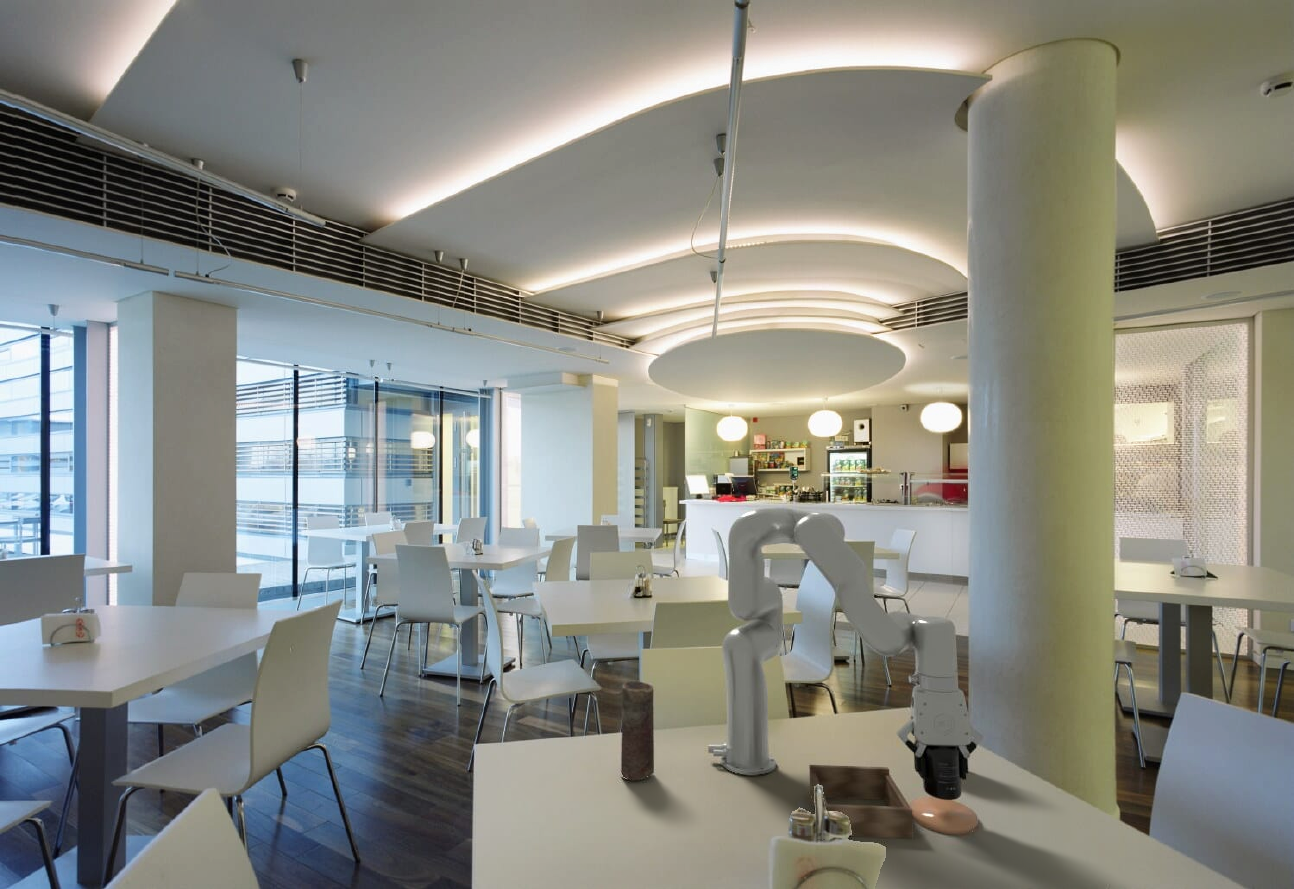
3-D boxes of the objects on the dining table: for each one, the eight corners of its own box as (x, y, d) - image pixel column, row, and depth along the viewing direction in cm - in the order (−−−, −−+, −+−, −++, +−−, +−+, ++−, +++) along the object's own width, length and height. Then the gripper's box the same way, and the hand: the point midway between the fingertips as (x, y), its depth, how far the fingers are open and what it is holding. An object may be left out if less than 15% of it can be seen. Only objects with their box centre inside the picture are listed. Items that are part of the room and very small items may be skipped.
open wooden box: (823, 834, 119) (822, 801, 119) (810, 794, 135) (809, 765, 135) (913, 838, 117) (911, 804, 118) (889, 797, 133) (887, 767, 134)
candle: (638, 766, 149) (638, 678, 151) (661, 776, 144) (660, 684, 146) (614, 776, 144) (613, 685, 146) (636, 787, 139) (636, 692, 140)
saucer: (920, 833, 119) (920, 826, 119) (901, 802, 131) (901, 796, 131) (988, 836, 118) (988, 829, 118) (963, 804, 130) (962, 798, 130)
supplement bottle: (916, 786, 128) (913, 723, 129) (949, 784, 128) (946, 722, 129) (934, 802, 121) (931, 736, 122) (969, 800, 121) (966, 734, 122)
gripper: (896, 687, 123) (901, 783, 122) (991, 688, 122) (996, 786, 120) (886, 676, 131) (890, 767, 129) (975, 677, 129) (980, 769, 128)
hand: (941, 775), depth 125 cm, fingers closed on supplement bottle, 6 cm apart
